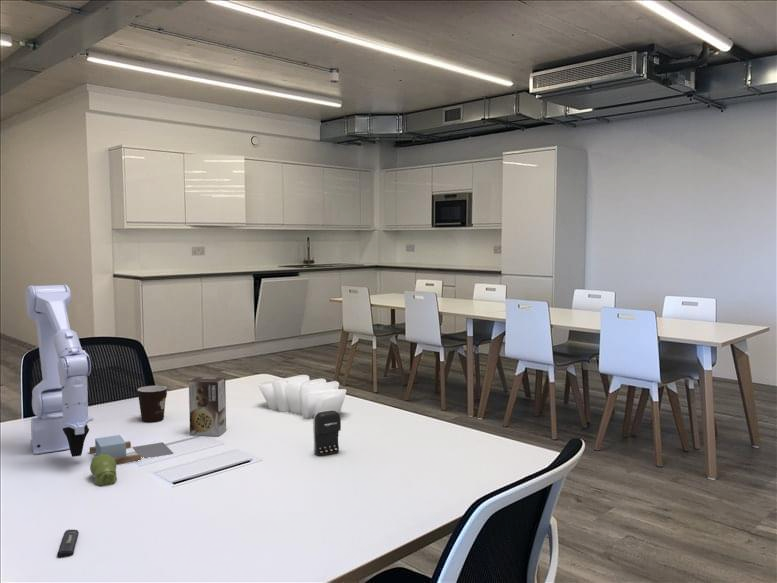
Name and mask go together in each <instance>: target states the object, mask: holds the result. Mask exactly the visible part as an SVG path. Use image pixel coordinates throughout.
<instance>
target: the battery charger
mask: <svg viewBox="0 0 777 583" xmlns="http://www.w3.org/2000/svg"><path fill="white" fill-rule="evenodd" d="M340 414H341V413H340ZM340 414H339V413H338V412H336V411H335V410H326V411H320V412H317V413H316V414H315V415H314V417H313V422H312V423H313V426H312V428H313V430H312V431H313V453H314V455H317V456H327V455H333V454H337V453H339V451H340V447H339V433H340V431H342V430H341V429H342V428H341V427H342V423H341V422H342V420H341V415H340Z"/></svg>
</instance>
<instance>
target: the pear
mask: <svg viewBox="0 0 777 583" xmlns="http://www.w3.org/2000/svg"><path fill="white" fill-rule="evenodd" d="M89 465H90V466H89V470H90V473H91V475H93V476H94V477H95V484H96V485H97V486H98V487H103V486H109V485H114V484H115V483H116V482H117V480H118V477H117V465H116V462H115V460H114V458H113V457H111V456H110V455H107V454H101V455H98V456H97V455H96V456H95V457H94V458H93V459H92V460H91V463H90V464H89Z"/></svg>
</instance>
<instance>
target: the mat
mask: <svg viewBox="0 0 777 583" xmlns="http://www.w3.org/2000/svg"><path fill="white" fill-rule="evenodd" d="M132 448H133V450H134V451H135V452H136V454H141V457H142V458H143V457H144V458H145V459H149V458H148V457H150V458H155V456H156V457H160V456H161V455H162V456H167V454H168V455H172V454H173V453H174V452H173V451H172V450H171V448H169V446H167V445H166V443H164V442H156V443H149V444H144V445H143V444H142V445H138V446H137V445H136V446H132ZM173 455H174V454H173ZM162 456H161V457H162ZM142 458H141V459H142Z"/></svg>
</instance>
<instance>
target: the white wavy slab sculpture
mask: <svg viewBox="0 0 777 583" xmlns="http://www.w3.org/2000/svg"><path fill="white" fill-rule="evenodd" d="M339 386H340V382H339V381H336V380H333V381H329V382H327V379H325V378H315V379H310V376H309V374H308V375H307V374H299V375H294V376H289V377H284V378H279V379H276V380H272V381H267V382H266V381H265V382H262V383H259V385H258V387H259V390H260V391H261V394H262V396H263V398H264V400H265V403H266V404H267V406H268V408H269V410H272V411H280V412H279V413H284V412H288V413H291V412H292V414H294V413H296V414H295V415H298V414H300V415H299V416H302V415H303V416H302V419H305V418H307V419H306V420H309V419H312V418H311V417H313V418H314V415H315V414H316V413H317V412H320V411H326V410H335V411H336V412H338V413H339V414H341V410H342V407H343V404H344V400H345V397H346V395H347V389H346V388H339ZM301 414H302V415H301ZM308 418H309V419H308Z"/></svg>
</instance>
